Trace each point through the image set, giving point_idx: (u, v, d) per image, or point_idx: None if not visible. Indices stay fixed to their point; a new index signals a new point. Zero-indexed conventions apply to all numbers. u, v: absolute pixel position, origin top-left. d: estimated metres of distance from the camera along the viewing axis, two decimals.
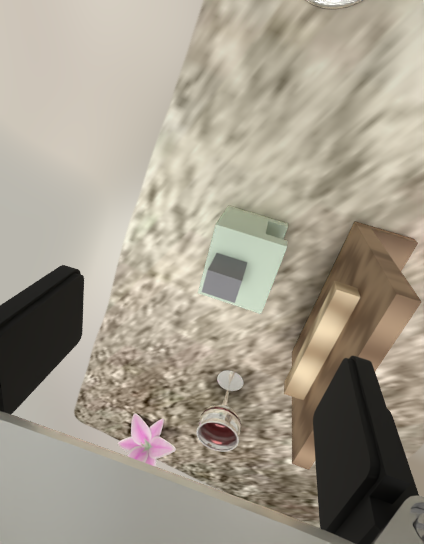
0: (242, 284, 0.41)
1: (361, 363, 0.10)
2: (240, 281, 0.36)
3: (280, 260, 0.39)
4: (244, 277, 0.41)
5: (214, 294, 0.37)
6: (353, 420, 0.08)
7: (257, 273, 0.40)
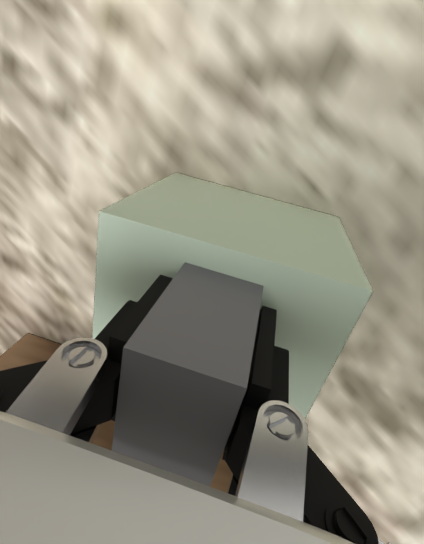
0: None
1: (266, 310, 0.11)
2: (206, 481, 0.09)
3: None
4: None
5: (126, 394, 0.08)
6: None
7: None
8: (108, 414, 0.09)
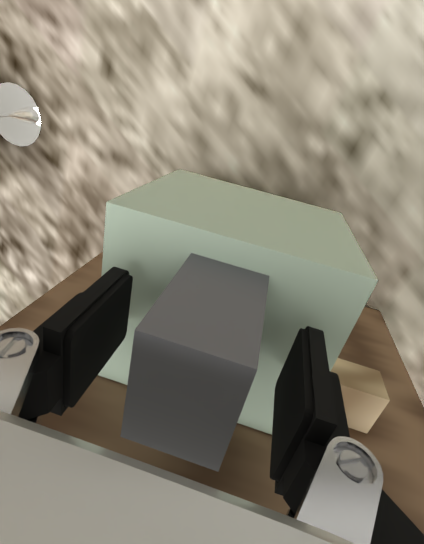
0: None
1: (313, 332, 0.11)
2: (215, 467, 0.09)
3: (253, 426, 0.15)
4: None
5: (137, 378, 0.08)
6: (299, 379, 0.09)
7: None
8: (44, 407, 0.09)
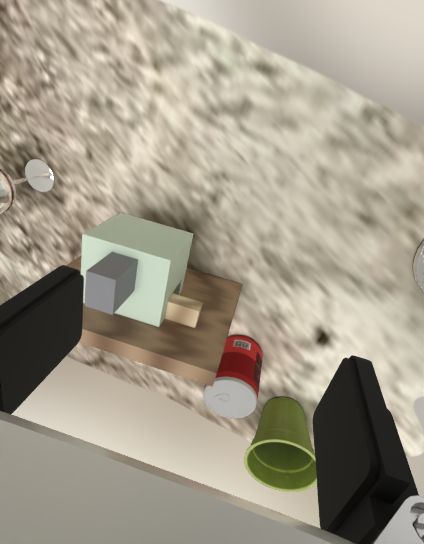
0: None
1: (361, 363, 0.10)
2: (111, 313, 0.32)
3: (143, 321, 0.38)
4: None
5: (87, 285, 0.31)
6: (353, 420, 0.08)
7: None
8: None
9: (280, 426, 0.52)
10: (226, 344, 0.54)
